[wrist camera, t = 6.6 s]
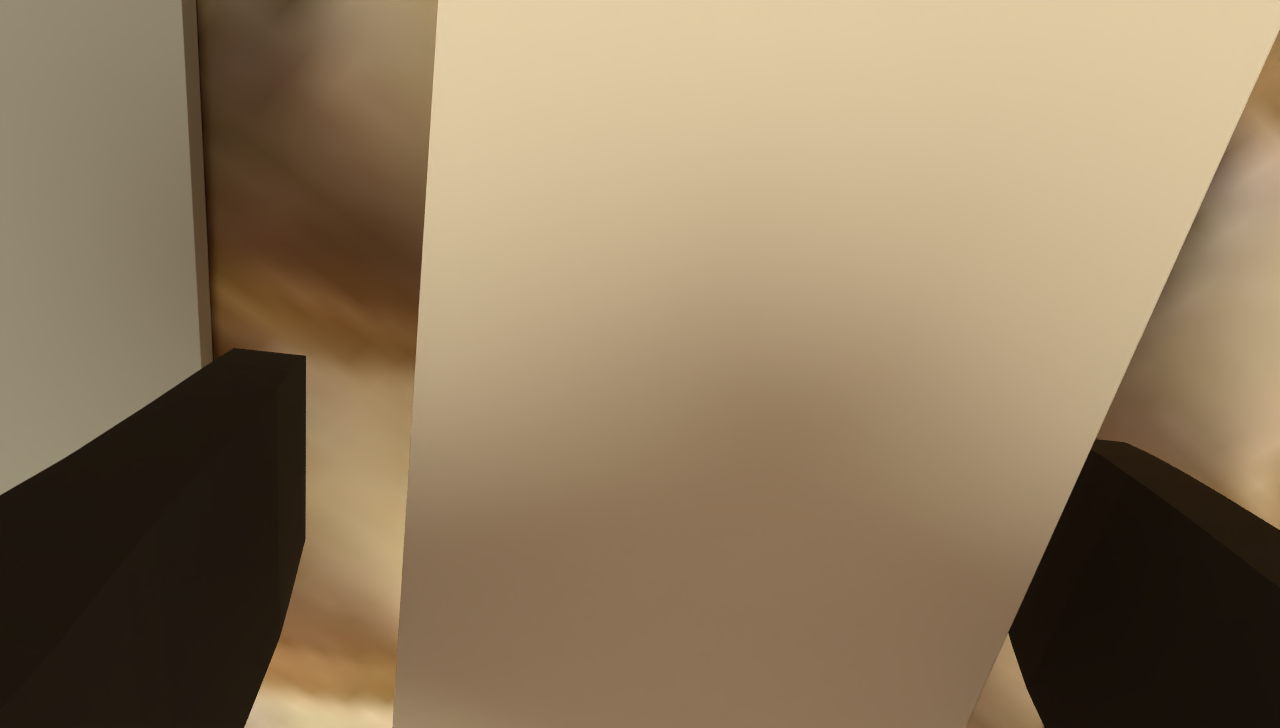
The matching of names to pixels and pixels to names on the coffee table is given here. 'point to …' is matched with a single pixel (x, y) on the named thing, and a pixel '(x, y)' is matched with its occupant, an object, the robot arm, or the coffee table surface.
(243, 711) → the robot arm
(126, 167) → the grey mat
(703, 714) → the off-white block
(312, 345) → the coffee table surface
